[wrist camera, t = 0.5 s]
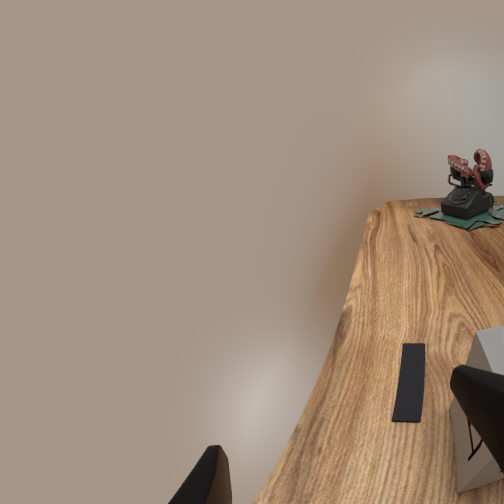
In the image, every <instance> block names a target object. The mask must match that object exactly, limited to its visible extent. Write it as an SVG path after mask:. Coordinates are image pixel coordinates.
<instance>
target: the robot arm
mask: <svg viewBox="0 0 504 504" xmlns="http://www.w3.org/2000/svg"><path fill="white" fill-rule="evenodd" d="M450 388H451V390H452V392H453V394H454V396H455V397H456V399H457V401H458V403H459V405H460V407H461V408H462V410H463V412H464V414H465V415H466V417H467V418H468V420H469V421H470V423H471V424H472V426H473V427H474V429H475V430H476V431H477V433H478V434H479V436H480V437H481V439H482V440H483V442H484V444H485V445H486V447H487V448H488V450H489V451H490V453H491V454H492V456H493V458H494V459H495V461H496V462H497V464H498V466H499V467H500V469H501V471H502V472H503V474H504V375H502V374H498V373H494V372H490V371H486V370H482V369H478V368H474V367H470V366H466V365H459V366H457V367H456V368H454V369H453V371H452V376H451V380H450ZM168 504H232V491H231V483H230V473H229V463H228V458H227V456H226V454H225V452H224V451H223V449H222V447H221V446H220V445H213V446H208V447H207V449H206V451H205V452H204V453H203V455H202V456H201V458H200V459H199V461H198V462H197V464H196V465H195V467H194V468H193V470H192V471H191V472H190V474H189V475H188V477H187V478H186V480H185V481H184V482H183V484H182V485H181V487H180V488H179V489H178V491H177V492H176V494H175V495H174V496H173V498H172V499H171V500H170V502H169V503H168Z"/></svg>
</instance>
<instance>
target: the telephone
mask: <svg viewBox="0 0 504 504" xmlns="http://www.w3.org/2000/svg"><path fill="white" fill-rule="evenodd" d="M474 159H475V162H477V165H475V166H474V168H473V171H472V169H471V168H469V167H468V165H467V164H468V160H467V161H466V160H465V159H461V158H460V157H458V156H454V155H452V156H450V155H449V156H448V164H450V166H451V167H450V172H451V174H450V175H449V179H448V180H449V181H448V182H449V184H451V185H455V186H456V187H455V186H454V187H455V189H454V190H453V191H452V192H450V193H449V194H448V196H447V197H446V198H445V199H444V200H443V201H442V202H441V207H439V208H436V209H435V208H432V209H431V210H429V208H430V207H427V208H424V209H420V210H417V211H415V212H417V213H421V212H423V213H422V215H426V214H429V213H432V212H436V211H439V213H436V214H434V215H431V216H429V217H430V218H436V219H442V220H445V222H448V223H451V224H454V225H457V226H460V227H462V225H463V228H466V229H468V228H469V227H470V226H471V225H472V224H473V223H474V222H475V221H476V220H478V221H484V222H489V223H491V224H499V223H501V222H502V221H500V220H497V219H495V218H493V217H492V216H494V217H496V218H501V219H504V209H501V210H499V211H497V210H498V209H500V208H504V206H502V205H493V204H496V202H495V201H494V198H493V195H492V194H491V193H487V192H486V191H485V189H486V188H487V187H488V186H492V184H489V183H491V182H492V180H493V170H492V164H491V159H490V157H489V155H488V153H487V152H486V151H485V150H482V149H478V150H477V151H476V152H475V154H474ZM480 159H481V160H480ZM473 172H474V173H473ZM479 173H480V174H479ZM450 176H452V177H453V178H454V179H456V180H458V181H460V182H461V186H460V185H456V184H453V183H451V182H450ZM473 176H474V177H473ZM480 176H481V177H480ZM471 185H474V186H471ZM487 194H488V195H487ZM490 196H491V200H492V203H491V202H490ZM494 202H495V203H494ZM490 203H491V204H490ZM498 203H501V202H498ZM489 214H491V216H490V215H489ZM414 216H420V215H419V214H414ZM450 221H452V222H450ZM454 222H455V223H454ZM461 224H462V225H461ZM483 225H487V224H485V223H483V222H477V223H476V224H475V225H474V226H473V227H472V228H471V229H469V230H468V231H470V230H472V229H474V228H477V227H479V226H483ZM468 231H467V232H468Z"/></svg>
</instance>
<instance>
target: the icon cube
mask: <svg viewBox="0 0 504 504" xmlns="http://www.w3.org/2000/svg"><path fill="white" fill-rule="evenodd" d="M466 366H470V367H474V368H478V369H482V370H486V371H490V372H494V373H498V374H502V375H504V325H503V326H498V327H494V328H489V329H484V330H479V331H475V335H474V339H473V342H472V346H471V350H470V353H469V356H468V360H467V363H466ZM450 414H451V421H452V428H453V437H454V446H455V459H456V480H457V493H461V492H465V491H468V490H472V489H475V488H478V487H481V486H484V485H487V484H490V483H493V482H495V481H498V480H501V479H503V478H504V474H503V472H502V471H501V469H500V467H499V466H498V464H497V462H496V461H495V459H494V458H493V456H492V454H491V453H490V451H489V450H488V448H487V447H486V445H485V444H484V442H483V440H482V439H481V437H480V436H479V434H478V433H477V431H476V430H475V429H474V427H473V426H472V424H471V423H470V421H469V420H468V418H467V417H466V415H465V414H464V412H463V410H462V408H461V407H460V405H459V403H458V401H457V399H456V397H455V396H454V399H453V401H452V403H451V406H450Z"/></svg>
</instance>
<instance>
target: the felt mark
mask: <svg viewBox="0 0 504 504" xmlns="http://www.w3.org/2000/svg"><path fill="white" fill-rule="evenodd" d="M424 374H425V343H415V344H412V343H403V350H402V360H401V369H400V376H399V383H398V390H397V396H396V402H395V407H394V413H393V418H392V421H393V422H421V414H422V404H423V392H424Z"/></svg>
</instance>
